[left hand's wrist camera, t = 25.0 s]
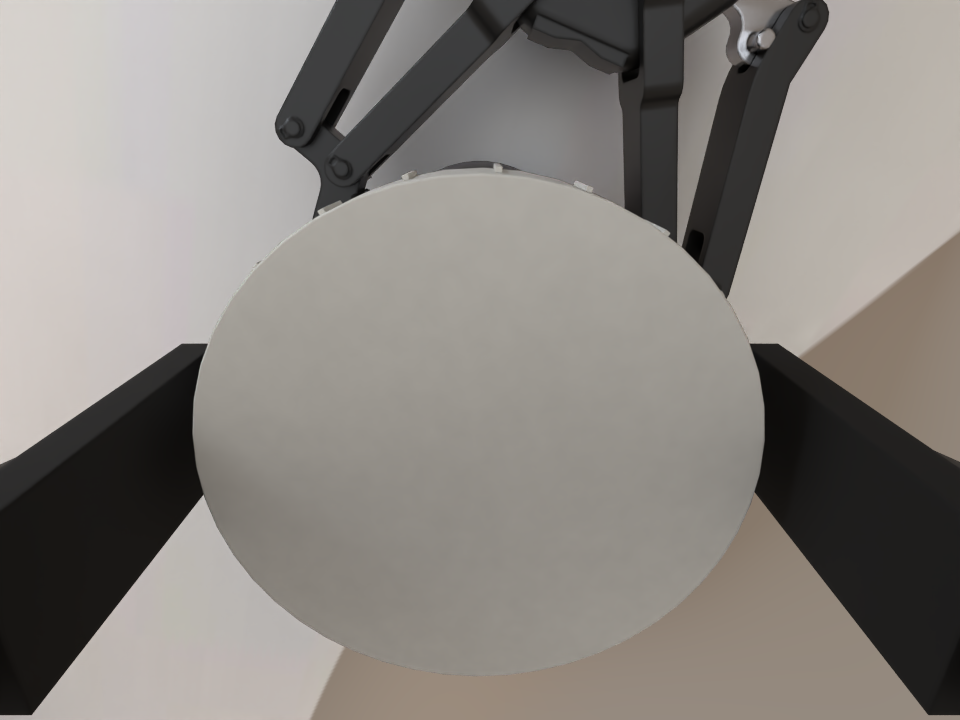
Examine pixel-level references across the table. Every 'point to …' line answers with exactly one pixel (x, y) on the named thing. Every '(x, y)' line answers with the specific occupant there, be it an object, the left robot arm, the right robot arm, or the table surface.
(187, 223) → the table surface
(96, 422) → the left robot arm
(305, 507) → the lid
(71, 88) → the table surface
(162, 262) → the table surface
